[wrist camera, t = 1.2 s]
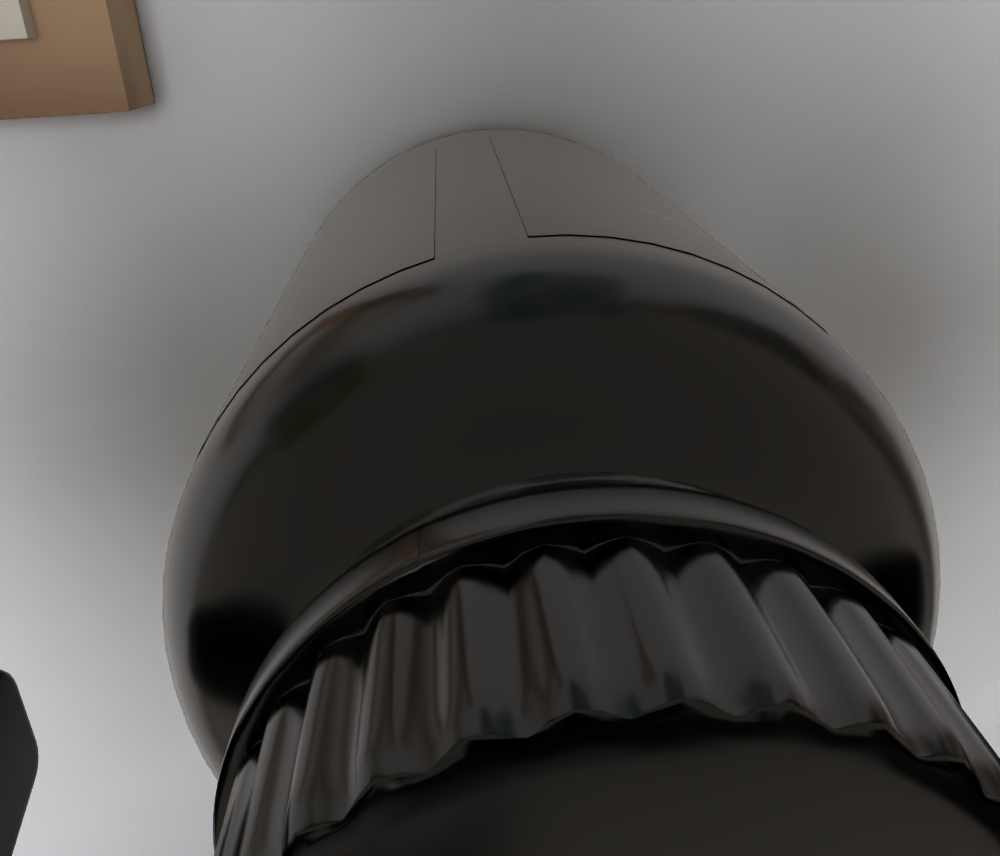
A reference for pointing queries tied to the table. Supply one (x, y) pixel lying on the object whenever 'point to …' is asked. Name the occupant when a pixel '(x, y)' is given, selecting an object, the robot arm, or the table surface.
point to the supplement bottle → (560, 547)
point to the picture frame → (71, 58)
